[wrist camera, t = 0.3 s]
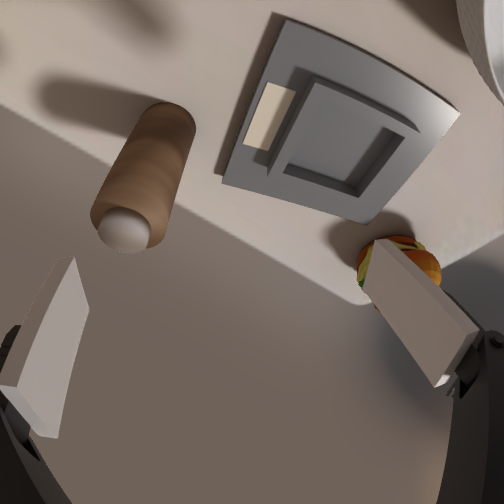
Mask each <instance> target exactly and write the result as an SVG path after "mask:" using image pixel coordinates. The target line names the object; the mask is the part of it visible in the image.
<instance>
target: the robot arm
mask: <svg viewBox="0 0 504 504" xmlns="http://www.w3.org/2000/svg"><path fill="white" fill-rule="evenodd" d="M362 289H363V290H364V291H365V292H366V294H367V295H368V296H369V298H370V299H371V300H372V302H373V303H374V304H375V306H376V307H377V308H378V309H379V311H380V312H381V313H382V315H383V316H384V317H385V319H386V320H387V321H388V323H389V324H390V326H391V327H392V328H393V330H394V331H395V332H396V334H397V335H398V336H399V338H400V339H401V341H402V342H403V343H404V345H405V346H406V347H407V349H408V350H409V352H410V353H411V355H412V356H413V357H414V359H415V360H416V362H417V363H418V365H419V366H420V367H421V369H422V370H423V372H424V373H425V375H426V376H427V378H428V379H429V380H430V382H431V383H432V385H433V387H437V386H439V385H441V384H444V383H446V382H448V381H449V379H450V378H451V376H452V375H453V373H454V372H456V374H457V375H458V378H457V379H456V380H455V382H454V383H453V384H452V386H451V388H450V389H449V390H448V391H447V395H446V396H448V395H450V393H451V392H452V390H454V394H453V395H452V397H453V398H454V401H453V413H452V422H451V431H450V438H449V445H448V452H447V457H446V463H445V469H444V473H443V478H442V483H441V487H440V491H439V496H438V500H437V503H436V504H504V336H503V335H502V334H501V333H499V332H497V331H493V330H490V331H487V332H486V331H484V329H483V328H482V327H481V326H480V325H479V324H478V323H477V322H476V321H475V319H474V318H473V317H472V316H471V315H470V314H469V313H468V312H467V311H465V310H464V308H463V307H462V306H461V305H459V303H458V302H457V301H456V300H455V299H454V298H453V297H452V296H451V295H450V294H448V293H447V292H445V291H444V290H442V289H440V288H439V287H438V286H437V285H436V284H435V283H434V282H433V281H432V280H431V279H430V278H429V277H428V276H427V275H426V274H425V273H424V272H423V271H422V270H421V269H420V268H419V267H418V266H417V265H416V264H415V263H414V262H413V261H412V260H410V259H409V258H408V257H407V256H406V255H405V254H404V253H403V252H402V251H401V250H400V249H399V248H397V247H396V246H395V245H394V244H393V243H392V242H391V241H390V240H388V239H378V240H375V242H374V246H373V250H372V254H371V258H370V262H369V266H368V270H367V274H366V277H365V281H364V285H363V288H362ZM88 313H89V307H88V303H87V300H86V297H85V293H84V290H83V287H82V283H81V280H80V276H79V273H78V269H77V265H76V261H75V258H74V257H63V258H58V260H57V261H56V263H55V265H54V266H53V268H52V270H51V271H50V273H49V275H48V277H47V278H46V280H45V282H44V284H43V285H42V287H41V289H40V291H39V293H38V294H37V296H36V298H35V300H34V302H33V304H32V306H31V308H30V310H29V311H28V313H27V315H26V317H25V319H24V321H23V323H22V325H15V326H14V327H13V328H12V329H11V330H10V331H9V332H8V333H7V334H6V336H5V338H4V340H3V342H2V344H1V348H0V504H72V503H71V501H70V500H69V499H68V497H67V496H66V494H65V493H64V491H63V490H62V488H61V487H60V485H59V484H58V482H57V481H56V479H55V478H54V477H53V475H52V473H51V471H50V470H49V468H48V466H47V465H46V463H45V462H44V460H43V458H42V456H41V455H40V453H39V451H38V449H37V447H36V446H35V444H34V442H33V440H32V439H31V438H30V436H29V431H30V427H31V428H32V429H33V430H34V431H35V432H36V433H37V434H38V435H39V436H44V437H50V438H58V433H59V427H60V422H61V417H62V412H63V407H64V402H65V397H66V392H67V388H68V384H69V380H70V376H71V371H72V368H73V364H74V360H75V356H76V353H77V349H78V346H79V342H80V339H81V335H82V332H83V329H84V325H85V322H86V319H87V316H88Z"/></svg>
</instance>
